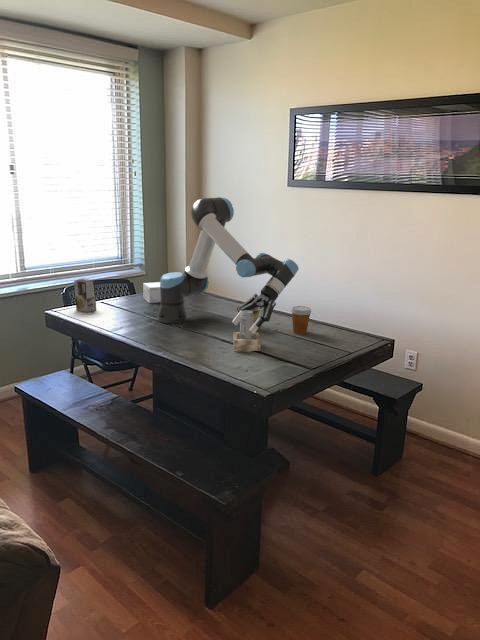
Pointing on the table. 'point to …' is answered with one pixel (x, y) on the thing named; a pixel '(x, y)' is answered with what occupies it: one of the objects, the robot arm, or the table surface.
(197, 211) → the robot arm
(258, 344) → the wooden box
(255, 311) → the ceramic cup
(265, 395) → the table surface
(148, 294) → the supplement box
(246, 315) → the energy drink can
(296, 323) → the disposable coffee cup
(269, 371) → the table surface
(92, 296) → the coffee box
